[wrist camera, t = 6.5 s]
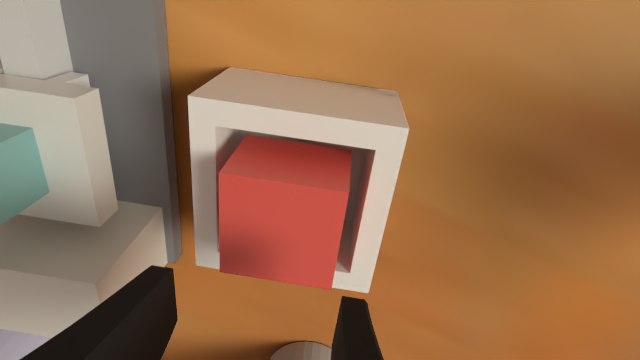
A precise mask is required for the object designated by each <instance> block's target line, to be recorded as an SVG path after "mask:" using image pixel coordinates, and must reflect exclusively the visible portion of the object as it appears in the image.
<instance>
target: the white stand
mask: <svg viewBox="0 0 640 360" xmlns="http://www.w3.org/2000/svg"><path fill="white" fill-rule="evenodd" d="M0 62H1V63H2V66H3V70H4V73H5V74H6V75H13V76H19V77H26V78H33V79H39V80H47V79H50V78H53V77H56V76H59V75H62V74H66V73H69V72H75V73H82V74H88V78H89V83H90V87H93V88H99V94H100V100H101V106H102V113H103V119H104V125H105V131H106V137H107V143H108V149H109V155H110V161H111V167H112V174H113V180H114V186H115V192H116V198H117V204H118V210H117V211H116V212H115V213H114V214H113V215H112V216H111V217H110V218H109V219H108V220H107V221H106V222H105V223H104V224H103V225H101V226H100V227H95V226H89V225H83V224H76V223H70V222H64V221H58V220H51V219H45V218H39V217H33V216H26V215H20V214H17V215H16V216H14V217H13V218H11V219H10V220H8V221H7V222H6V223H4V224H3V225H1V226H0V329H4V330H10V331H16V332H22V333H28V334H34V335H39V336H45V337H51V338H53V337H54V336H56V335H57V334H59V333H60V332H62V331H63V330H64V329H66V328H67V327H69V326H70V325H72V324H73V323H75V322H76V321H77V320H79V319H80V318H81V317H83V316H84V315H86V314H87V313H88V312H90V311H91V310H92V309H94V308H95V307H97V306H98V305H99V304H101V303H102V302H103V301H105V300H106V299H107V298H109V297H110V296H111V295H113V294H114V293H115V292H117V291H118V290H119V289H121V288H122V287H123V286H124V285H126V284H127V283H128V282H130V281H131V280H132V279H134V278H135V277H136V276H138V275H139V274H140V273H142V272H143V271H144V270H146V269H147V268H148V267H150V266H151V265H154V266H160V267H165V265H166V264H167V262H168V263H174V264H176V262H177V261H178V259H179V258H180V256H181V255H182V240H181V226H180V212H179V198H178V184H177V170H176V156H175V142H174V128H173V113H172V99H171V85H170V71H169V57H168V43H167V29H166V15H165V0H0Z"/></svg>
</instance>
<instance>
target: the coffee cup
mask: <svg viewBox="0 0 640 360" xmlns="http://www.w3.org/2000/svg"><path fill="white" fill-rule="evenodd" d="M331 350H332V349H331V348H329V347H328V346H325V345H323V344H320V343H316V342H309V341H302V342H295V343H291V344H288V345H285V346H283V347H282V348H280V349H278V350H277V351H276V352H275V353H274V354H273V355H272V357H271V358H270V360H331Z"/></svg>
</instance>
